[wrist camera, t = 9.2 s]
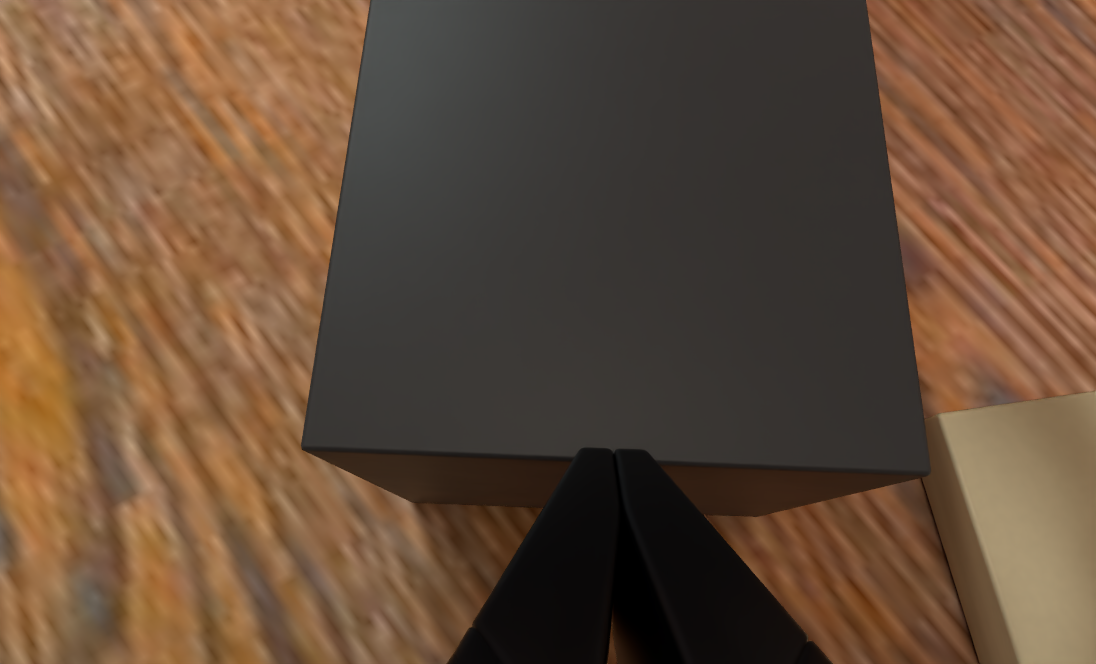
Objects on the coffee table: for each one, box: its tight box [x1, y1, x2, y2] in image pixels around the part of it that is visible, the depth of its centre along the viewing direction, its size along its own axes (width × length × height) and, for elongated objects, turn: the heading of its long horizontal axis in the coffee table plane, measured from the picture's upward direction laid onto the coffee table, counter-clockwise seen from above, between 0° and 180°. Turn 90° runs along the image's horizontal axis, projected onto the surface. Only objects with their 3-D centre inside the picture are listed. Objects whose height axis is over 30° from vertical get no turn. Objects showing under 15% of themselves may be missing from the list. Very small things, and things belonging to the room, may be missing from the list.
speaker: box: [301, 0, 931, 517], centre depth 14 cm, size 12×8×8 cm
